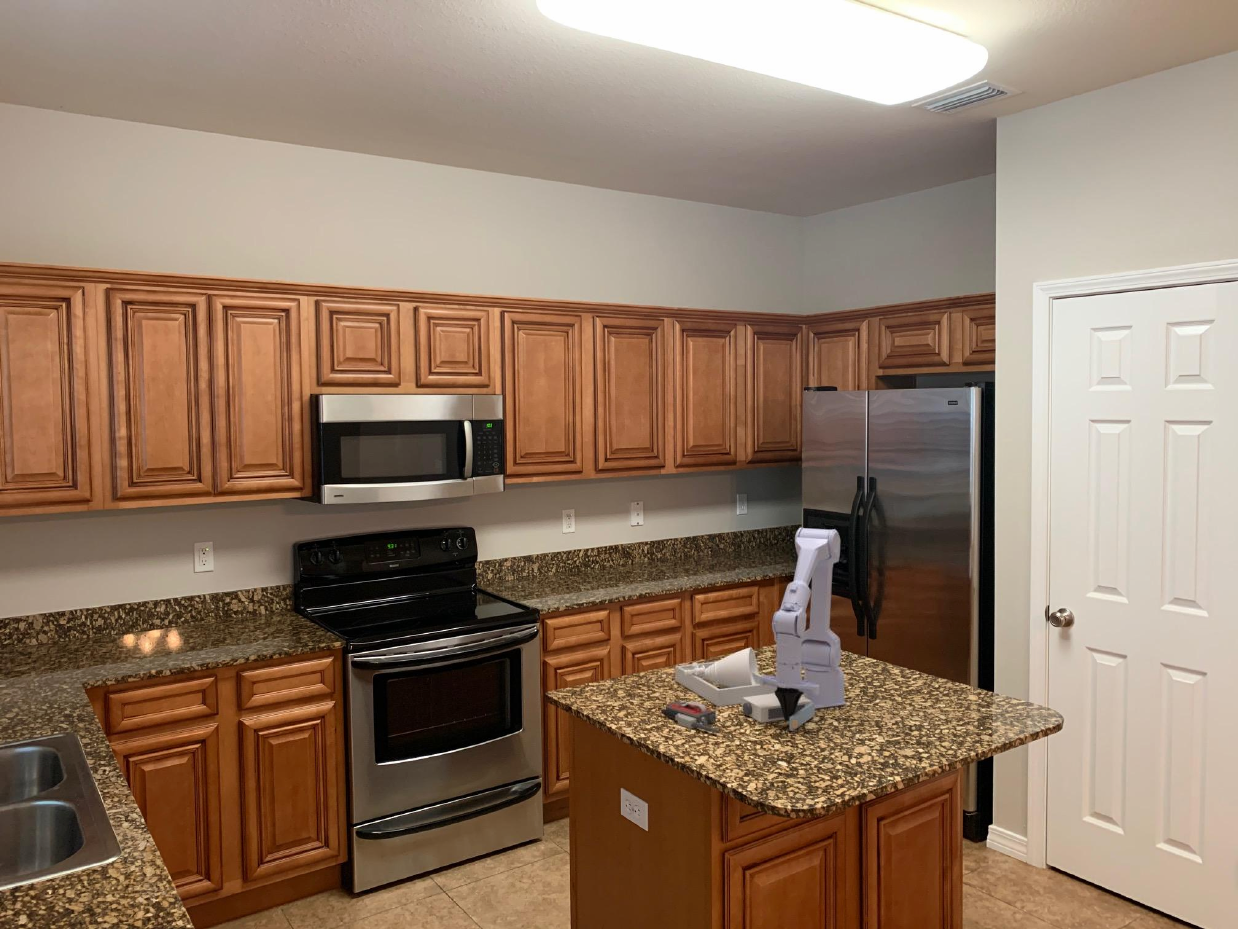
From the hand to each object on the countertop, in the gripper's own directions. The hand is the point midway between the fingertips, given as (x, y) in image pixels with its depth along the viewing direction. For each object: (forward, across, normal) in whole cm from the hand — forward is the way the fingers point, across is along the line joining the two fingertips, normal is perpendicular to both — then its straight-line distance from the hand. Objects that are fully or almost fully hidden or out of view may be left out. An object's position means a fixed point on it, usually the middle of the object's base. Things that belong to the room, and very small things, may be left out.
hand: (789, 719), depth 217 cm
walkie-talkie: (+2, -18, -11) cm, 21 cm away
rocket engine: (+1, -28, +16) cm, 32 cm away
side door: (+1, +2, +3) cm, 4 cm away
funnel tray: (+1, -27, +16) cm, 32 cm away
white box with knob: (+1, -7, +6) cm, 9 cm away
